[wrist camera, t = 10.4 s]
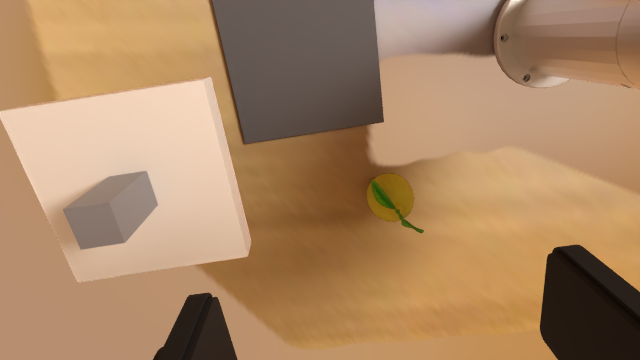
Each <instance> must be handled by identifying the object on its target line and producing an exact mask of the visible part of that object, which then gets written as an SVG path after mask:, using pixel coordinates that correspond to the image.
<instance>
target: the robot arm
mask: <svg viewBox="0 0 640 360" xmlns="http://www.w3.org/2000/svg"><path fill="white" fill-rule="evenodd" d="M501 36H502V40H501ZM493 42H494V51H495V55H496V59H497V62H498V64H499V65H500V67H501V69H502V71H503V72H504V73H505V74H506V75H507V76H508V77H509V78H510V79H512V80H513V81H515V82H516V83H519V84H521V85H524V86H529V87H533V88H548V87H553V86H556V85H559V84H562V83H565V82H567V81H568V80H570V79H574V80H580V81H587V82H593V83H600V84H607V85H613V86H619V87H626V88H632V89H639V90H640V0H506V2H505V3H504V5H503V7H502V8H501V11H500V13H499V16H498V18H497V21H496V25H495V30H494V41H493ZM523 76H524V78H523ZM540 332H541V335H542V337H543V340H544V341H545V343H546V344H547V346H548V347H549V348H550V349H551V351H552V352H553V354H554V355H555V356H556V358H557V359H558V360H640V292H639V291H638V290H637V289H635V288H634V287H633V286H631V285H630V284H629V283H628V282H626V281H625V280H624V279H623V278H621V277H620V276H619V275H618V274H616V273H615V272H614V271H613V270H611V269H610V268H609V267H608V266H606V265H605V264H604V263H602V262H601V261H600V260H599V259H597V258H596V257H595V256H594V255H592V254H591V253H590V252H589V251H587V250H586V249H585V248H584V247H582V246H580V245H570V246H562V247H556V248H554V250H553V252H552V253H551V254H549V255H548V257H547V264H546V274H545V283H544V293H543V303H542V312H541V322H540ZM153 360H237V357H236V354H235V350H234V347H233V344H232V341H231V338H230V335H229V331H228V328H227V325H226V322H225V319H224V315H223V312H222V309H221V306H220V302H219V300H218V298H217V297H212V295H211V294H210V293H203V294H195V295H189V296H188V297H187V299H186V301H185V303H184V306H183V307H182V309H181V312H180V314H179V316H178V318H177V320H176V322H175V324H174V326H173V328H172V330H171V332H170V335H169V337H168V339H167V341H166V343H165V345H164V347H162V348H160V349H159V350H158V352H157V353H156V355H155V356H154V359H153Z"/></svg>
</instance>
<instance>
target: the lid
mask: <svg viewBox="0 0 640 360" xmlns="http://www.w3.org/2000/svg"><path fill="white" fill-rule="evenodd" d="M0 118H1V121H2V123H3V125H4V127H5V129H6V131H7V133H8V135H9V137H10V140H11V142H12V144H13V146H14V148H15V150H16V153H17V154H18V157H19V159H20V161H21V163H22V165H23V167H24V169H25V172H26V174H27V176H28V178H29V180H30V182H31V184H32V187H33V189H34V191H35V193H36V195H37V197H38V199H39V202H40V204H41V206H42V208H43V210H44V212H45V214H46V216H47V219H48V221H49V223H50V225H51V227H52V229H53V231H54V234H55V236H56V238H57V240H58V242H59V244H60V246H61V248H62V250H63V253H64V255H65V257H66V259H67V261H68V263H69V265H70V268H71V270H72V272H73V274H74V276H75V278H76V280H77V282H84V281H91V280H98V279H104V278H111V277H117V276H123V275H131V274H137V273H144V272H150V271H157V270H163V269H170V268H176V267H183V266H190V265H197V264H203V263H210V262H216V261H223V260H230V259H236V258H243V257H248V255H249V250H250V246H251V238H250V233H249V229H248V225H247V221H246V217H245V213H244V209H243V205H242V201H241V197H240V193H239V189H238V185H237V181H236V177H235V173H234V168H233V164H232V160H231V156H230V152H229V148H228V144H227V140H226V136H225V132H224V128H223V124H222V120H221V116H220V112H219V108H218V103H217V99H216V95H215V91H214V87H213V83H212V79H211V77H205V78H198V79H192V80H186V81H179V82H173V83H166V84H160V85H153V86H147V87H141V88H134V89H128V90H121V91H115V92H108V93H102V94H96V95H89V96H83V97H76V98H70V99H63V100H57V101H51V102H44V103H38V104H31V105H25V106H20V107H15V108H11V109H7V110H3V111H0Z"/></svg>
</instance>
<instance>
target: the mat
mask: <svg viewBox="0 0 640 360" xmlns="http://www.w3.org/2000/svg"><path fill="white" fill-rule="evenodd" d="M212 3H213V7H214V11H215V16H216V20H217V24H218V29H219V33H220V37H221V41H222V46H223V50H224V54H225V59H226V63H227V67H228V72H229V76H230V80H231V84H232V89H233V93H234V97H235V102H236V106H237V110H238V115H239V119H240V123H241V127H242V132H243V136H244V140H245V144H247V143H254V142H260V141H267V140H273V139H279V138H286V137H292V136H298V135H305V134H311V133H317V132H324V131H330V130H337V129H343V128H349V127H356V126H362V125H368V124H375V123H381V122H384V118H383V107H382V97H381V96H382V95H381V84H380V72H379V59H378V47H377V36H376V24H375V12H374V0H212Z"/></svg>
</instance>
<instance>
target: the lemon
mask: <svg viewBox="0 0 640 360" xmlns="http://www.w3.org/2000/svg"><path fill="white" fill-rule="evenodd" d="M370 180H371V182H370V184H369V186H368V188H367V195H366V197H367V202H368V205H369V207H370V208H371V210H372V211H373V213H374V214H375V215H376V216H378V217H379V218H380V219H383V220H386V221H391V222H396V221H399V220H401V221H402V225H403V226H405V227H408V228H413V229H414V230H416V231H417V232H419V233H423V232H424V230H421V229H418V228H416V227H414V226H413V225H411V224H410V223H409V222H408V221H406V220H405V219H404V218H405V217H407V215H408V214H409V213H410V212H411V210H412V208H413V204H414V195H413V190H412V189H411V187H410V185H409V183H408V182H407V181H406V180H405V179H404V178H403V177H401V176H400V175H397V174H393V173H386V174H382V175H379V176H378V177H376V178H374V179H373V180H372V179H370Z"/></svg>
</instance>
